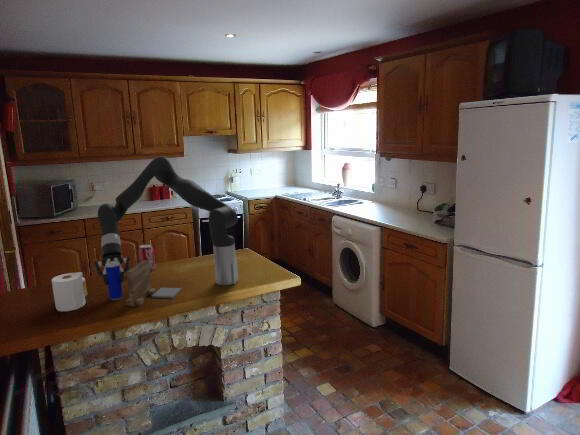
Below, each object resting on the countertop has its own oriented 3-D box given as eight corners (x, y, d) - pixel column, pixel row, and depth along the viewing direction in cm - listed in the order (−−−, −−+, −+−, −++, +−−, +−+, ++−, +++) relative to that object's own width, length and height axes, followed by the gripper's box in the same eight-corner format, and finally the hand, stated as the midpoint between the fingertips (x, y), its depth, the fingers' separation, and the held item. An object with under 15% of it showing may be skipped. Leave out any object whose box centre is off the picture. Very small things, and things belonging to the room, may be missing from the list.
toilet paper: (50, 308, 165) (45, 279, 162) (75, 299, 174) (71, 271, 171) (66, 313, 160) (61, 283, 157) (91, 303, 169) (87, 274, 166)
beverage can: (126, 296, 174) (121, 261, 171) (116, 301, 170) (111, 265, 167) (116, 294, 177) (112, 260, 173) (106, 299, 172) (102, 264, 169)
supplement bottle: (90, 294, 179) (87, 272, 176) (80, 299, 174) (76, 276, 172) (80, 292, 180) (76, 271, 178) (69, 297, 175) (66, 275, 173)
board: (156, 292, 178) (153, 260, 175) (140, 306, 164) (136, 271, 161) (143, 292, 179) (139, 260, 176) (125, 305, 165) (121, 271, 162)
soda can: (158, 267, 211) (155, 243, 208) (152, 271, 204) (149, 247, 201) (144, 267, 211) (141, 243, 209) (138, 271, 205) (135, 247, 202)
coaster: (181, 289, 180) (181, 288, 180) (172, 298, 171) (172, 296, 171) (161, 289, 181) (161, 287, 181) (151, 297, 172) (151, 295, 172)
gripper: (130, 248, 184) (133, 284, 176) (93, 253, 179) (96, 290, 171) (128, 239, 178) (132, 276, 170) (91, 244, 173) (93, 281, 165)
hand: (114, 282), depth 170 cm, fingers closed on beverage can, 5 cm apart
